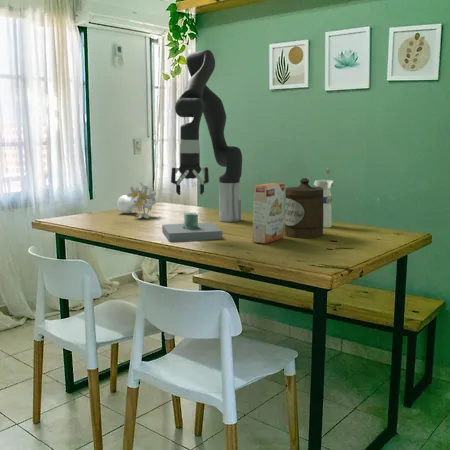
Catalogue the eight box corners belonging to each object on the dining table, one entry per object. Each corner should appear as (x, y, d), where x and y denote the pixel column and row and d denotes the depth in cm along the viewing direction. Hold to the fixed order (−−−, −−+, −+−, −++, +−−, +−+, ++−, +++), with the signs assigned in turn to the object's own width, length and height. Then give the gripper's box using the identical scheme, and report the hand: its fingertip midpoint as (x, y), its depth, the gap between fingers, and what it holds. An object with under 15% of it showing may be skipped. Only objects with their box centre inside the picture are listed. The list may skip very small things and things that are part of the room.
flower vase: (119, 227, 273) (142, 220, 253) (107, 191, 271) (129, 182, 251) (141, 220, 280) (165, 213, 260) (129, 185, 279) (153, 175, 259)
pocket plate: (211, 229, 227) (210, 222, 227) (222, 238, 208) (222, 231, 208) (162, 231, 223) (162, 224, 222) (169, 241, 204) (168, 233, 203)
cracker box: (266, 244, 198) (267, 186, 194) (251, 242, 201) (252, 185, 198) (284, 238, 209) (285, 182, 206) (270, 236, 213) (271, 182, 209)
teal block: (195, 234, 218) (195, 212, 217) (198, 236, 214) (197, 214, 213) (184, 234, 217) (184, 213, 216) (186, 236, 213) (186, 214, 212)
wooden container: (278, 232, 221) (279, 177, 218) (311, 230, 226) (312, 176, 222) (295, 239, 207) (296, 180, 204) (330, 236, 212) (331, 179, 209)
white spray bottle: (337, 226, 235) (339, 167, 231) (323, 228, 230) (325, 168, 226) (322, 223, 241) (324, 166, 237) (308, 225, 236) (310, 167, 232)
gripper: (206, 151, 216) (206, 193, 218) (169, 151, 212) (170, 193, 215) (210, 152, 208) (210, 195, 211) (172, 152, 205) (172, 196, 208)
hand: (190, 194), depth 213 cm, fingers open, 8 cm apart
